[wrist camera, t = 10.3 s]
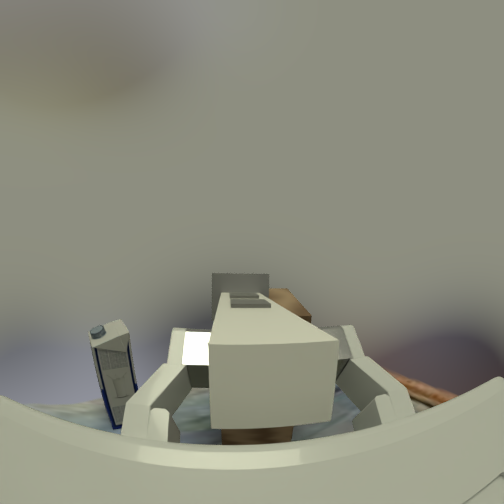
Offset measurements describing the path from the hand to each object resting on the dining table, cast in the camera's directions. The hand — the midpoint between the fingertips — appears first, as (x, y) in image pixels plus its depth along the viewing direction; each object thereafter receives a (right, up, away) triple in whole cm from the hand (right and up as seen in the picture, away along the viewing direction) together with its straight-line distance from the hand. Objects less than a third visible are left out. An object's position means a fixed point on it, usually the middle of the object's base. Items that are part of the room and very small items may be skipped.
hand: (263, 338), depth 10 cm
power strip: (-1, -3, +10) cm, 11 cm away
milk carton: (-25, -29, +32) cm, 50 cm away
